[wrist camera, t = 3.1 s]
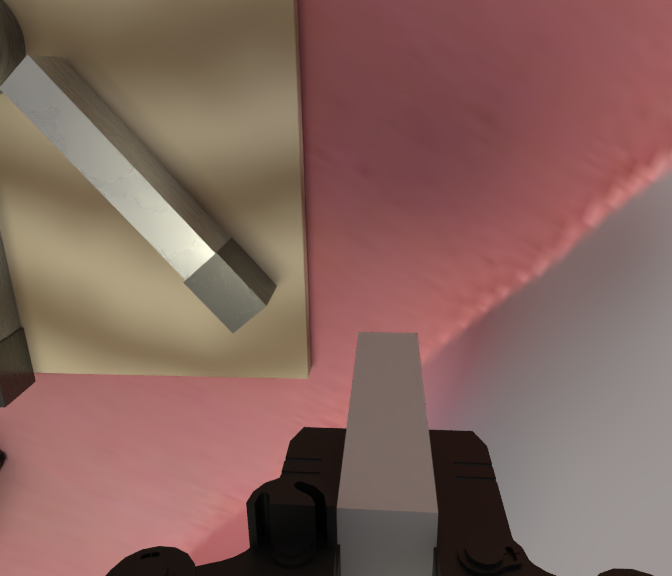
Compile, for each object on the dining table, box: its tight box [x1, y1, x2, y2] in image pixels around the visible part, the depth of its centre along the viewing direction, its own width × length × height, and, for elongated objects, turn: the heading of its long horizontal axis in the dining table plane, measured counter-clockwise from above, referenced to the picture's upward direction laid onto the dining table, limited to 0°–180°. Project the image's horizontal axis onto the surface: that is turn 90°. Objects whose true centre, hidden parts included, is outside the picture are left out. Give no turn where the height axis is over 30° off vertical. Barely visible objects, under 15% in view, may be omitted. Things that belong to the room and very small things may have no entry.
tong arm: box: [0, 55, 277, 333], centre depth 23 cm, size 18×4×4 cm, turn 41°
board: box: [0, 0, 311, 379], centre depth 26 cm, size 19×17×1 cm
